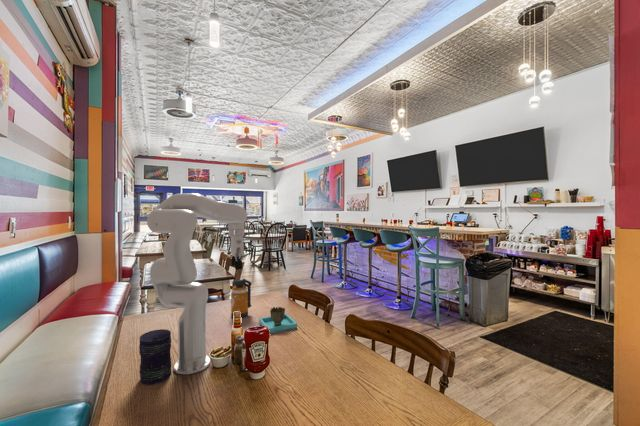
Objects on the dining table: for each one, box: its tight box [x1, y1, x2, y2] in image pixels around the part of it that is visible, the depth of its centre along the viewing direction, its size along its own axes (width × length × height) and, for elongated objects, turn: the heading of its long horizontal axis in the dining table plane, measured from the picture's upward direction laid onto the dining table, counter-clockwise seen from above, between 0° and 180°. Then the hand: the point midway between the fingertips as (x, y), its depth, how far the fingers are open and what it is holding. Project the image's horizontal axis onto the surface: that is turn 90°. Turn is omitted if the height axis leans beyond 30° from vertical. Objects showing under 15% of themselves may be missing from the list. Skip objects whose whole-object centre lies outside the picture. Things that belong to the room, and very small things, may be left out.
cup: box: [269, 306, 286, 326], centre depth 148 cm, size 8×7×8 cm
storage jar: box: [138, 328, 172, 386], centre depth 104 cm, size 10×10×15 cm
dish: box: [258, 313, 298, 335], centre depth 148 cm, size 15×15×2 cm
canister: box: [230, 278, 253, 318], centre depth 163 cm, size 9×11×20 cm
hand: (236, 267), depth 145 cm, fingers open, 9 cm apart
